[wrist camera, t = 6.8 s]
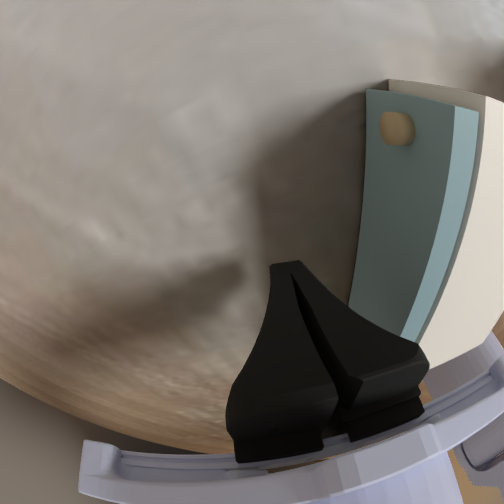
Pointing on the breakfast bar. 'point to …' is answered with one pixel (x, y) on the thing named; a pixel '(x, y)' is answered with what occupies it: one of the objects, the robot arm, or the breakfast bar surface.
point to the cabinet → (469, 237)
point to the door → (410, 205)
